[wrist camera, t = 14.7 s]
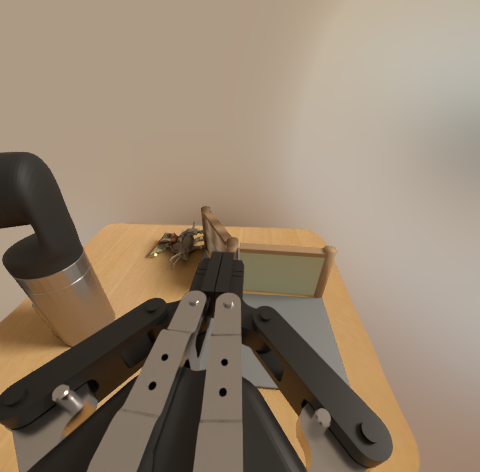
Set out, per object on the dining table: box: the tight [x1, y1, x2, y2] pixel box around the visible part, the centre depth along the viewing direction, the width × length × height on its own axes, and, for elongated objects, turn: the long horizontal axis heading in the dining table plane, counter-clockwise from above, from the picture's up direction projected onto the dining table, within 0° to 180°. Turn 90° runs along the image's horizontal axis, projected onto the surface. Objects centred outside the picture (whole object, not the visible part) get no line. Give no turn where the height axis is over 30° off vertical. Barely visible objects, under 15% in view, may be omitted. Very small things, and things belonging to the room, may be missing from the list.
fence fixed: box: [201, 206, 238, 260], centre depth 54 cm, size 20×2×14 cm, turn 26°
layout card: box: [199, 248, 350, 389], centre depth 50 cm, size 31×37×1 cm
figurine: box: [147, 223, 206, 270], centre depth 64 cm, size 20×6×17 cm
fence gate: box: [240, 243, 337, 298], centre depth 47 cm, size 20×2×13 cm, turn 85°
